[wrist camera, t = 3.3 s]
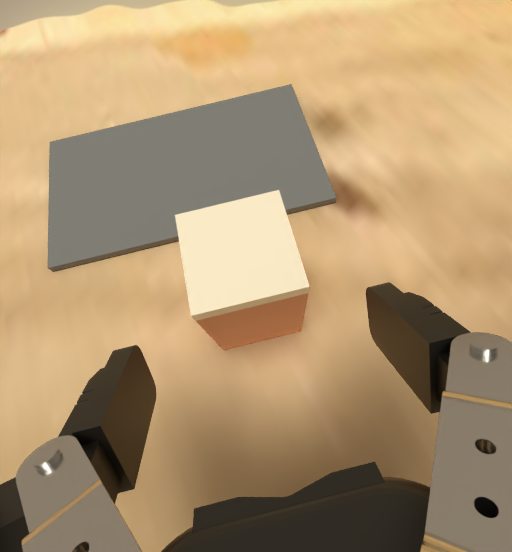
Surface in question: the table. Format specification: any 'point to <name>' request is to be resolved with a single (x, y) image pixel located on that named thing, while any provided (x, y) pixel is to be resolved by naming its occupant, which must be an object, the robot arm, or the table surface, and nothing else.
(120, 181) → the mat
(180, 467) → the table surface
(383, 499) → the robot arm
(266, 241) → the block
